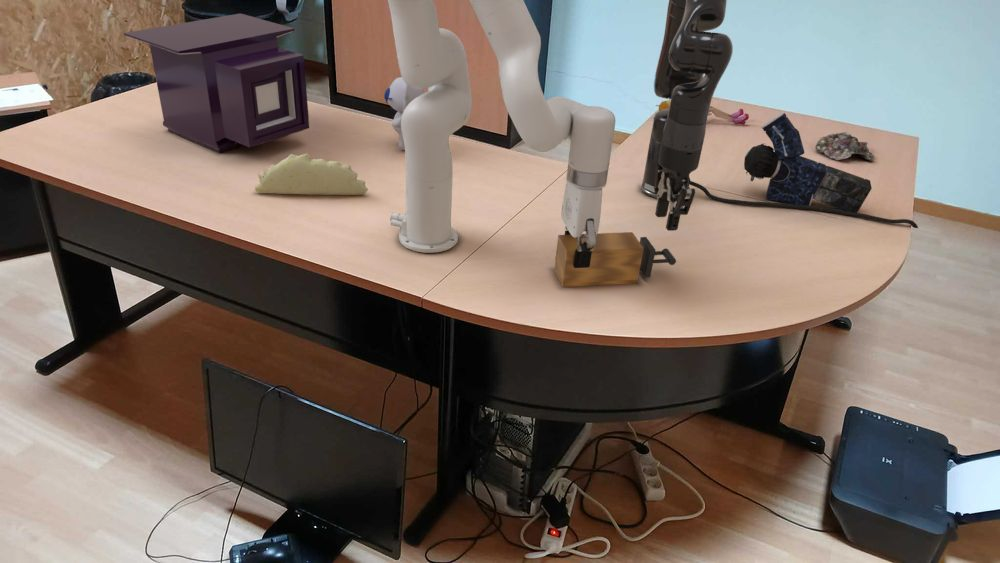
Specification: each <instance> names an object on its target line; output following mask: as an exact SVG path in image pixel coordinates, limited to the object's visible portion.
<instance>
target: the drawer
mask: <svg viewBox="0 0 1000 563" xmlns="http://www.w3.org/2000/svg"><path fill="white" fill-rule="evenodd" d="M639 242H640V244H641V245H642V246H643V248H644V249H643V254H642V260H641V265H640V270H639V272H640V273H641V275H642V276H643V277H644V278H651V276H652V272H653V271H652V270H653V266H654V264H669V265H670V266H673V265H675V264H676V263H677V258H675V256H674V255H673V254H672V252H671V250H669V249H668V248H663V249H662V250H656V248H655V247H654V245H653V244H652V242H650V240H649V239H648V237H647V236H640V239H639ZM655 256H663V258H661V259H660V258H659V259H657V258H656V259H655Z"/></svg>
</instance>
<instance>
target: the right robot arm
mask: <svg viewBox="0 0 1000 563" xmlns="http://www.w3.org/2000/svg"><path fill="white" fill-rule="evenodd" d="M727 3H728V1H727V0H668V5H667V11H666V21H665V26H664V34H663V40H662V45H661V49H660V53H659V57H658V60H657V65H656V70H655V75H654V79H653V92H654V94H655V96H656V97H658V98H661V99H666V100H670V101H671V102H670V107H669V109H664V110H661V111H659V110H658V111H657V112H656V113H655V114H654V116H653V122H652V128H651V133H650V138H649V144H648V148H647V156H646V160H645V161H646V162H645V165H644V172H643V178H642V183H641V186H640V190H641V192H642V193H643V194H645V195H646V196H649V197H651V198H655V199H657V202H656V208H655V216H656V218H666V217H667V219H666V224H665V229H666V230H667V231H668V232H672V231H675V232H676V231H677V230H678V229H679V224H680V220H681V216H687V215H688V214H689V212H690V209H691V206H692V203H693V200H694V197H695V195H696V188H697V189H699V190H701V191H702V192H703V193H704V194H705V196H706V197H708V198H709V199H711V200H713V201H716V202H720V203H724V204H725V203H726V204H735V205H743V206H756V207H772V208H775V207H776V208H786V209H787V208H788V209H789V208H790V209H799V210H800V209H801V210H810V211H819V212H826V213H833V214H838V215H839V214H840V215H844V216H845V215H846V216H850V217H857V218H862V219H866V220H871V221H875V222H881V223H885V224H886V223H887V224H894V225H895V224H897V225H898V224H907V225H910V226H911V227H912V228H913V229H919V226H918V224H917V223H916V222H915V221H914V220H912V219H908V218H899V219H898V218H897V219H891V218H886V217H879V216H875V215H870V214H865V213H861V212H858V213H855V212H850V211H845V210H841V209H838V208H832V207H825V206H816V205H811V206H808V205H798V204H790V203H785V202H768V201H751V200H749V201H748V200H742V199H734V198H733V199H731V198H723V197H719V196H717V195H714V194H711V192H710V191H709V190H708V189H707V188H706V187H705V186H703V185H701V184H700V183H697V182H695V181H692V180H691V178H690V174H691V173H693V172H694V171H696V170H697V169H698V168H699V164H700V159H701V155H702V150H703V145H704V141H705V136H706V131H707V129H706V128H707V121H708V117H709V116H708V112H709V107H710V106H711V103H712V100H713V96H714V94H715V91H716V90H717V87H718V85H719V82H720V81H721V79H722V77H723V75H724V74H725V71H726V70H727V68H728V66H729V64H730V62H731V60H732V56H733V52H734V45H733V41H732V40H731V38H730V37H729V35H727V34H726V33H721V32H711V31H713V30H716V29H718V28H719V27H720V26H721V25H722V24H723V23H724V20H725V17H726V12H727V10H726V9H727ZM691 186H692V187H695V188H691Z"/></svg>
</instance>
